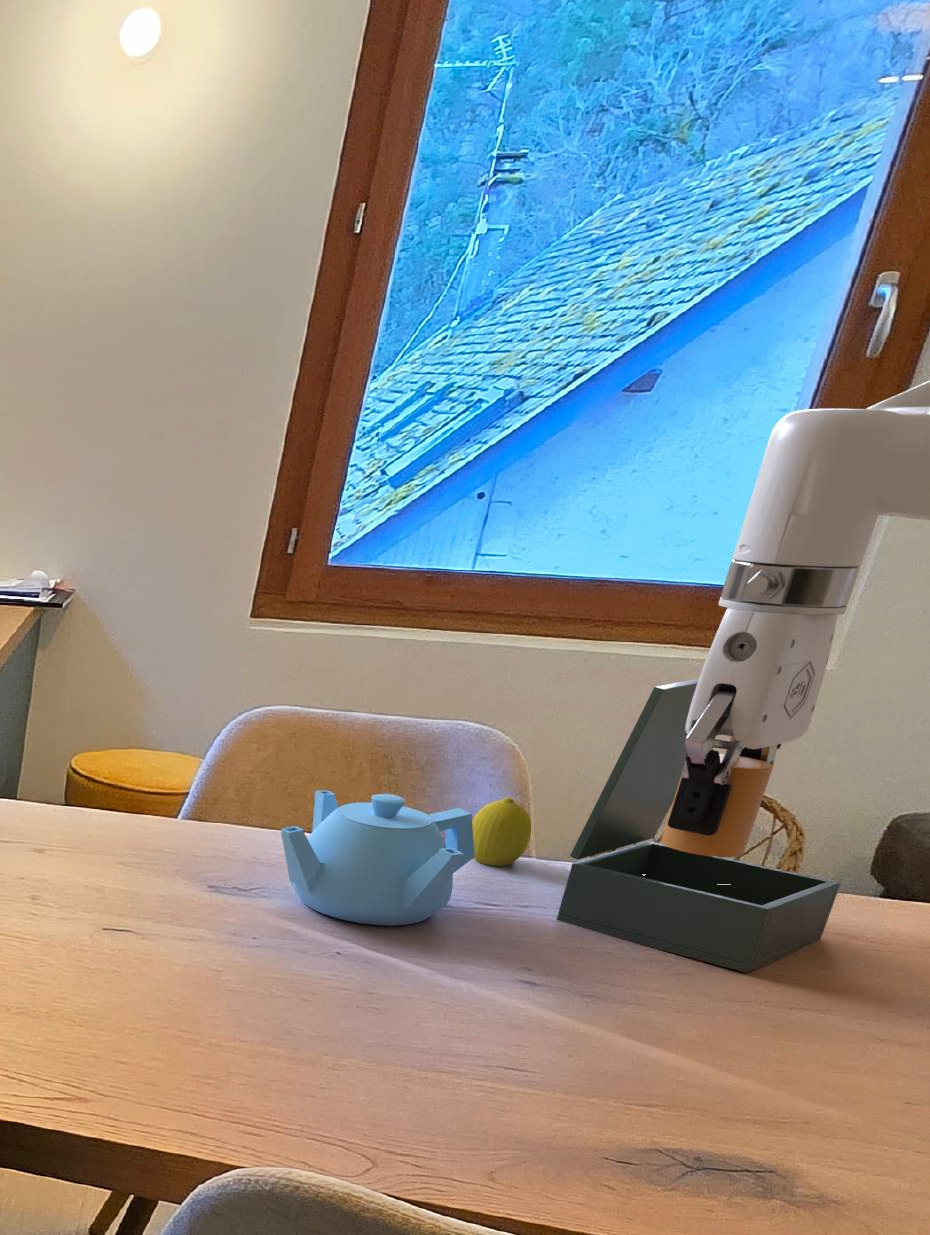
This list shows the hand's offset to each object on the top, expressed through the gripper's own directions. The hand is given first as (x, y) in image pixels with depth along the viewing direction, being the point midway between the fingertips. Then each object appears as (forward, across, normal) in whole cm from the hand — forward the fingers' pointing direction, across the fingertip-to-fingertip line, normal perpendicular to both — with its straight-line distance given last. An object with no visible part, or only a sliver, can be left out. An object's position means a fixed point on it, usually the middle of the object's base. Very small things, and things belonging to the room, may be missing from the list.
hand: (710, 823), depth 112 cm
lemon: (+15, +23, +26) cm, 38 cm away
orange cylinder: (+2, 0, 0) cm, 2 cm away
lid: (0, +19, +12) cm, 22 cm away
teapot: (+14, 0, +26) cm, 30 cm away
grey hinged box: (+14, +19, +6) cm, 25 cm away
